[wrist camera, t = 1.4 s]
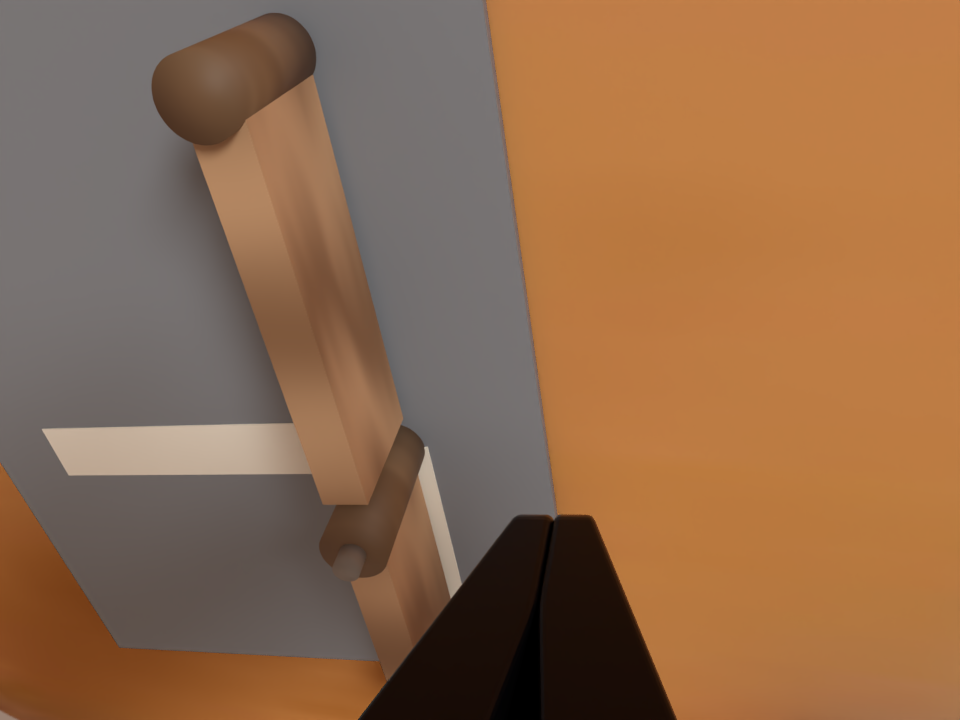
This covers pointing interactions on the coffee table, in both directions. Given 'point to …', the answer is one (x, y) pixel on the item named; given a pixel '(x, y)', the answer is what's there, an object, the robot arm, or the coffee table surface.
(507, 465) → the card
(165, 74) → the brown wooden bar
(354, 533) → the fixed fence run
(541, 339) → the coffee table surface
